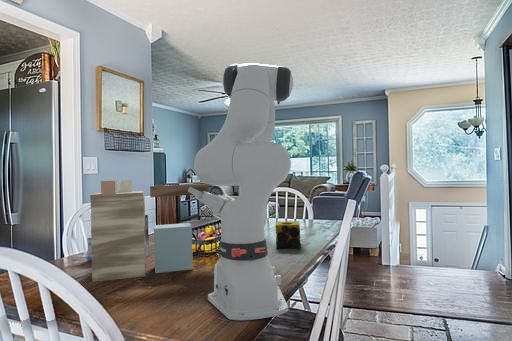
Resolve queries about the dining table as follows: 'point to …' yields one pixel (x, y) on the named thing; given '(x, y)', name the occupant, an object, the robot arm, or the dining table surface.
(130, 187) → the cream block
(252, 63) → the robot arm
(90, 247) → the medicine box
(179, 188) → the rail
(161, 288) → the dining table surface
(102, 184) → the terracotta block
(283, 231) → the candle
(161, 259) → the step
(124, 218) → the grey wood block
